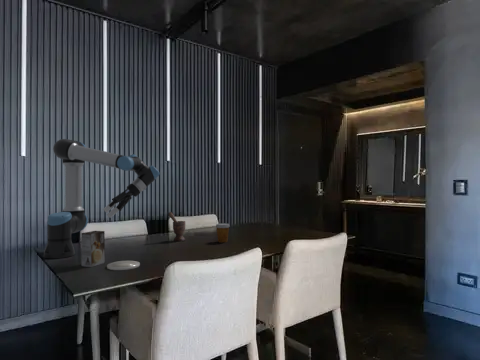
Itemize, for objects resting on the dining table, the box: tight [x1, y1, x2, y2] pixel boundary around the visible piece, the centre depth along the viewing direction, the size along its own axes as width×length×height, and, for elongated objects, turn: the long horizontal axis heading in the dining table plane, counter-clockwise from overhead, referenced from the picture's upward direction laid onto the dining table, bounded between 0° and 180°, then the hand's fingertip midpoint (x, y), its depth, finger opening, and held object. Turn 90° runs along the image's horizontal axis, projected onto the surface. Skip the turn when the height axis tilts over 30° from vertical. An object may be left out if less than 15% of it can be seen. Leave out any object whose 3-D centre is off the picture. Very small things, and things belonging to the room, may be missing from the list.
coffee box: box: [80, 230, 106, 268], centre depth 170 cm, size 9×6×16 cm
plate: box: [106, 260, 141, 271], centre depth 167 cm, size 15×15×1 cm
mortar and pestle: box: [167, 211, 186, 242], centre depth 238 cm, size 12×9×20 cm
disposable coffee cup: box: [215, 222, 230, 243], centre depth 235 cm, size 10×10×12 cm
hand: (106, 214), depth 188 cm, fingers open, 13 cm apart
